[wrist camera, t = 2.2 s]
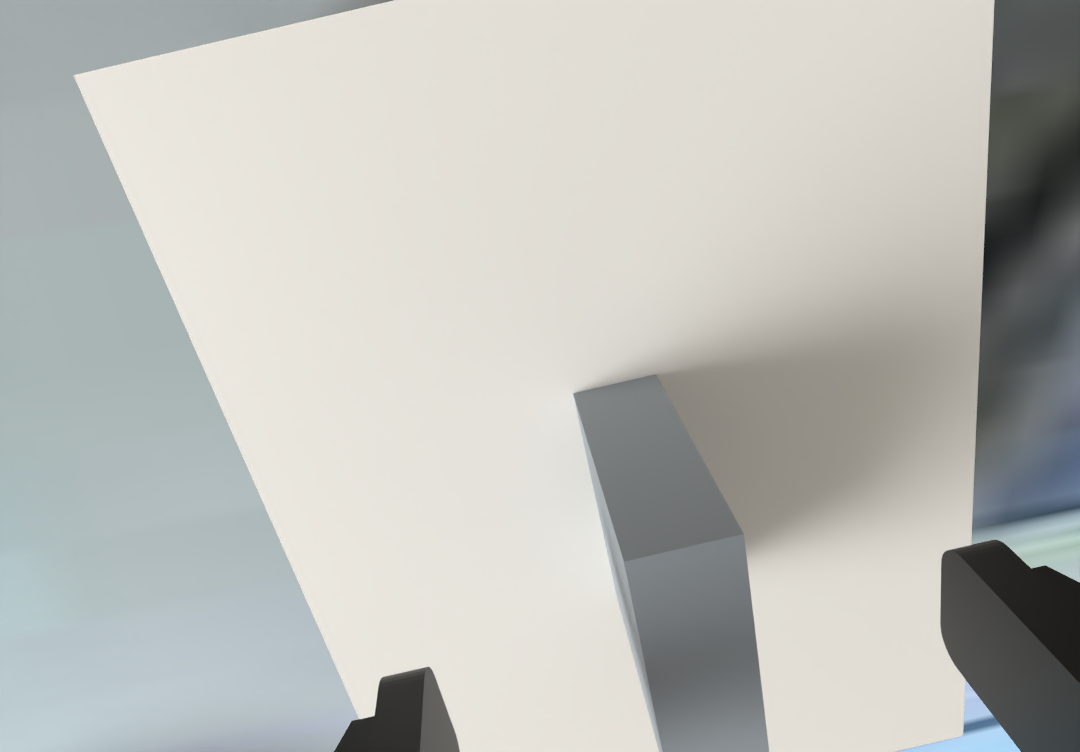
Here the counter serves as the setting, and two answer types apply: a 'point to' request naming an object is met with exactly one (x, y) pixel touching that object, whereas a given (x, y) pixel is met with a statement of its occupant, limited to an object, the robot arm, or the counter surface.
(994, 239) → the counter surface
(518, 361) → the lid
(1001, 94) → the counter surface
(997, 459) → the counter surface
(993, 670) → the robot arm
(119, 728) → the counter surface
